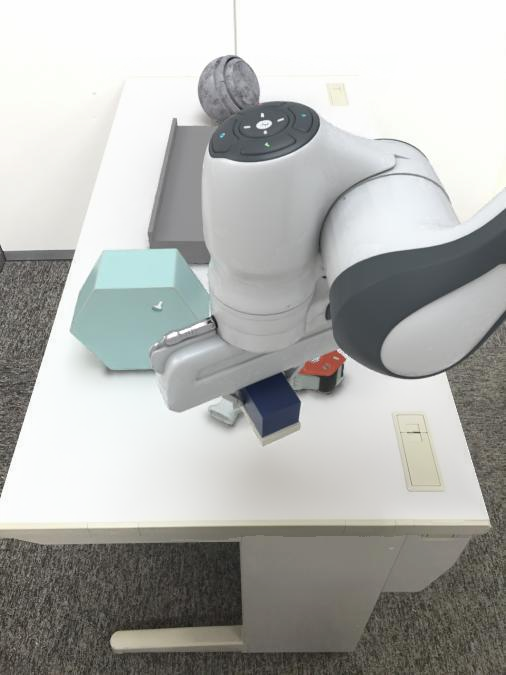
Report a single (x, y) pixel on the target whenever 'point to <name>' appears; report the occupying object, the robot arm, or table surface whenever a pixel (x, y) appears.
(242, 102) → the decorative orb
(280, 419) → the navy lidded box
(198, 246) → the desk organizer
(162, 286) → the cyan faceted polyhedron
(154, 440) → the table surface
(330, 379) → the tape dispenser
